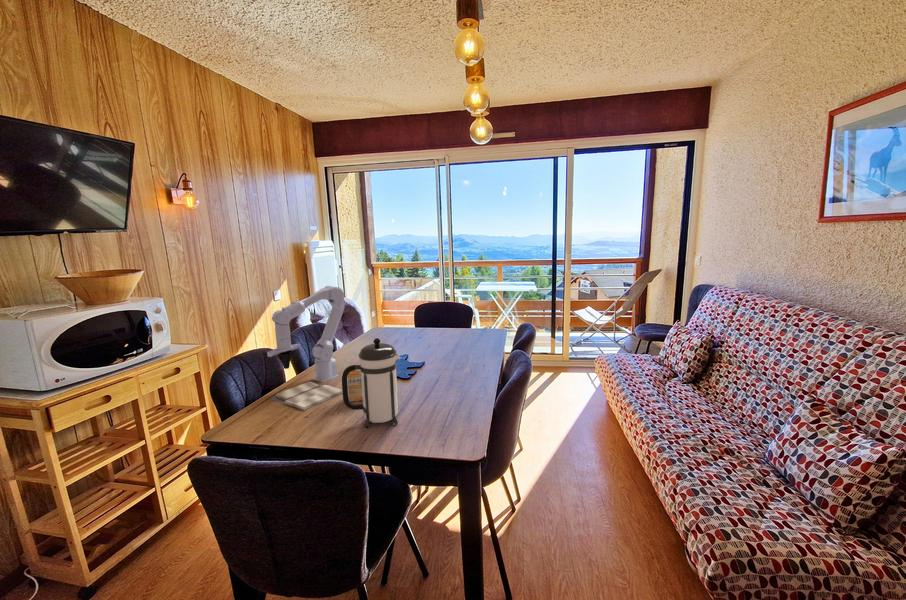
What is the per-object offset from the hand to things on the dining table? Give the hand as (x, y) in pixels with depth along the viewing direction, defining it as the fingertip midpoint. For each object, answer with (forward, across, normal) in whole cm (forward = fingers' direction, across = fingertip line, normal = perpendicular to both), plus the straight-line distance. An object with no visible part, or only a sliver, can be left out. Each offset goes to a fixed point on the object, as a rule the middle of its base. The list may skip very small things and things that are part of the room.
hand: (286, 368), depth 159 cm
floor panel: (+9, +1, +16) cm, 19 cm away
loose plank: (+9, +1, +9) cm, 13 cm away
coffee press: (+10, +2, +56) cm, 57 cm away
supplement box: (+10, -8, +36) cm, 38 cm away
